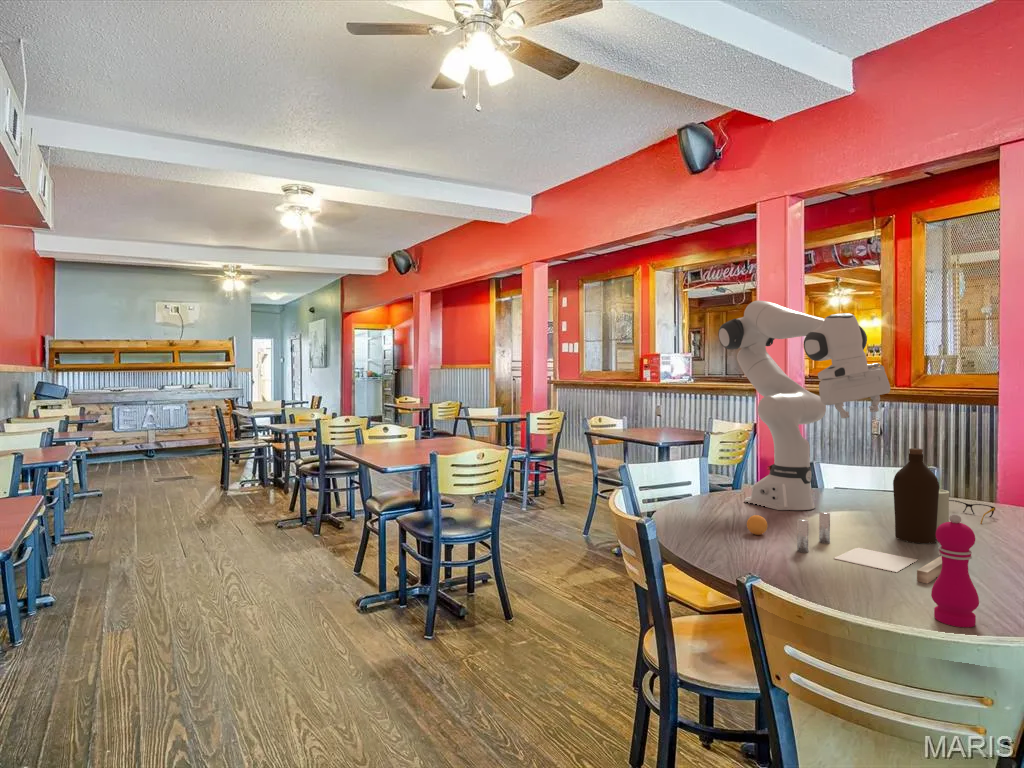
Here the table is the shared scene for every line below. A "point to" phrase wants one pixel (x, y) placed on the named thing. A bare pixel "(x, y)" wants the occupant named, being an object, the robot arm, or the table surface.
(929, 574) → the wall
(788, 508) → the robot arm
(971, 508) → the eyeglasses
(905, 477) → the olive oil
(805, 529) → the post
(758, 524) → the ball
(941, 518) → the can
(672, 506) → the table surface
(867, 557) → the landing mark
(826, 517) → the post
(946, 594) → the pepper mill
